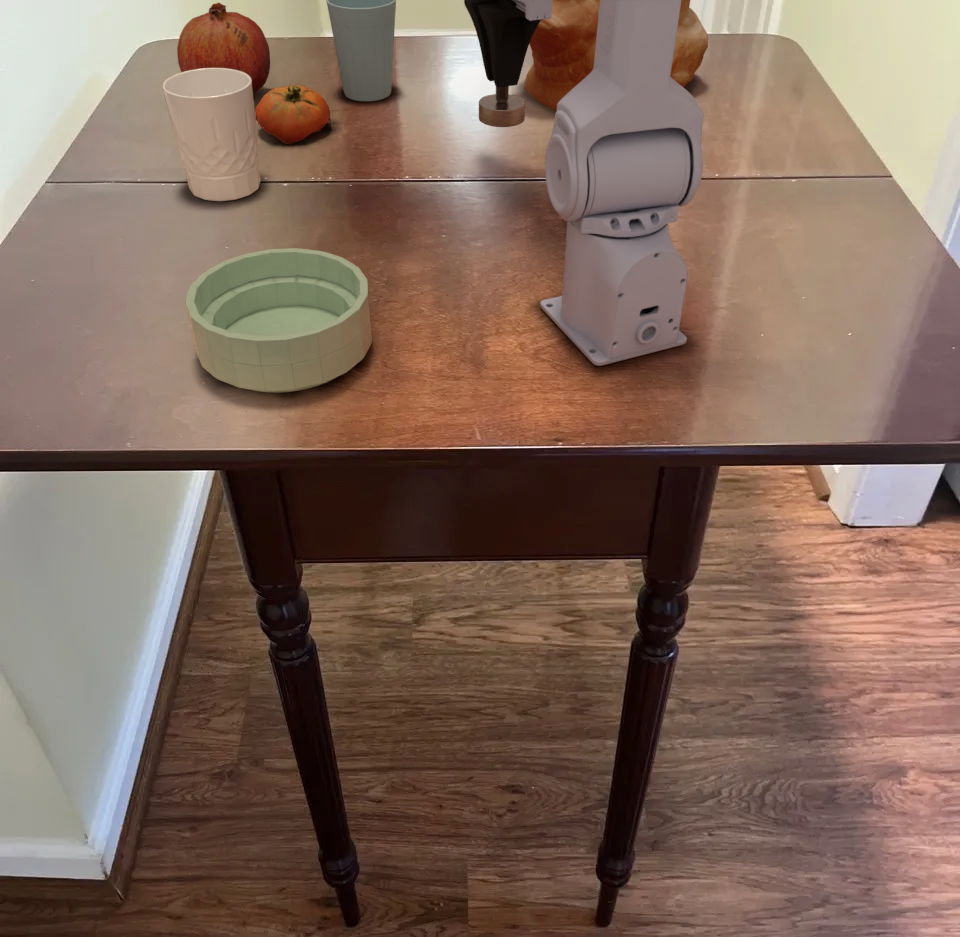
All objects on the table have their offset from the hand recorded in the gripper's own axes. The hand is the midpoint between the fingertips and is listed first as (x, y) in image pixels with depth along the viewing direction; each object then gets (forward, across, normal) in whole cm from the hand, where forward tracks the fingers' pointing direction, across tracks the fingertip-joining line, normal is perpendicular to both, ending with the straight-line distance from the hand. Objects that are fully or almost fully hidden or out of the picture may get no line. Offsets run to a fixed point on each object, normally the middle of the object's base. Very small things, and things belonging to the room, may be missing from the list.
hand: (502, 82), depth 89 cm
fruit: (+9, +32, +20) cm, 39 cm away
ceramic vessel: (+9, +18, -21) cm, 29 cm away
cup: (+9, +27, +5) cm, 29 cm away
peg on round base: (+3, 0, 0) cm, 3 cm away
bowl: (+9, -22, +28) cm, 36 cm away
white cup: (+9, +8, +26) cm, 29 cm away
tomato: (+9, +19, +16) cm, 27 cm away
